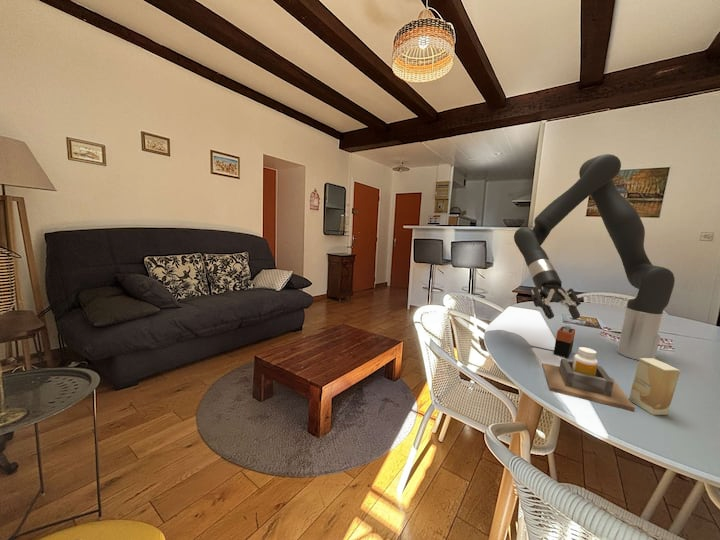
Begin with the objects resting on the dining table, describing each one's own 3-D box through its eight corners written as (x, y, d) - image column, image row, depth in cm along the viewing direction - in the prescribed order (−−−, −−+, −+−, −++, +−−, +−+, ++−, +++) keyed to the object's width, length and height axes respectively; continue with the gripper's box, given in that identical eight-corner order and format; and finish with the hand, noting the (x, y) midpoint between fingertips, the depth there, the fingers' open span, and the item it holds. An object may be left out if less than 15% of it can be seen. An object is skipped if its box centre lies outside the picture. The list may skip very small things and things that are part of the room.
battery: (571, 353, 105) (576, 327, 103) (567, 358, 100) (572, 331, 99) (557, 349, 108) (561, 323, 106) (553, 354, 103) (557, 327, 102)
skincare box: (627, 400, 77) (637, 357, 75) (642, 399, 77) (652, 357, 75) (653, 416, 71) (665, 369, 69) (669, 415, 71) (681, 369, 69)
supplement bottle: (597, 388, 80) (604, 355, 79) (576, 385, 81) (582, 352, 79) (586, 378, 85) (592, 347, 84) (566, 375, 86) (572, 344, 85)
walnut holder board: (612, 381, 86) (615, 365, 86) (634, 411, 72) (638, 393, 71) (541, 365, 94) (544, 351, 93) (549, 390, 80) (552, 373, 79)
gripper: (530, 268, 96) (550, 312, 87) (570, 269, 97) (594, 313, 88) (518, 280, 102) (535, 322, 93) (556, 281, 104) (577, 323, 94)
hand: (564, 318), depth 91 cm, fingers open, 8 cm apart
